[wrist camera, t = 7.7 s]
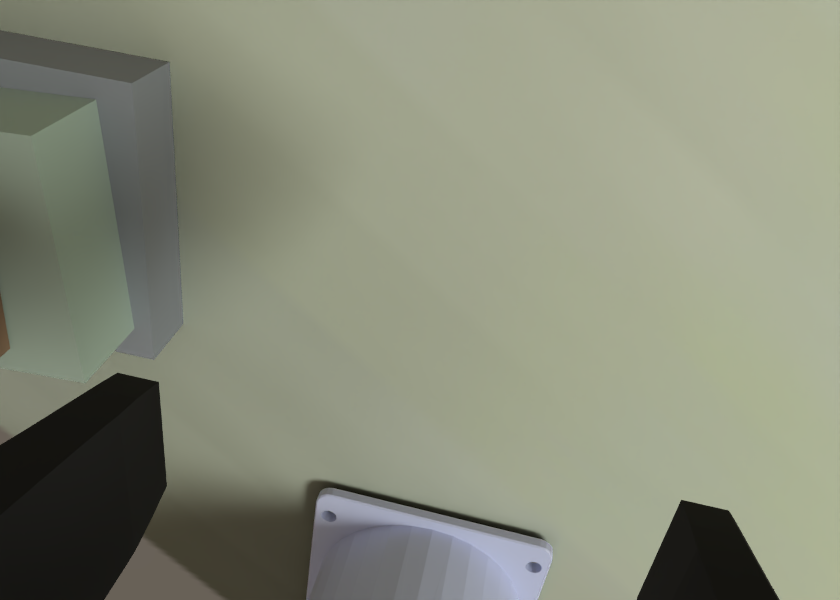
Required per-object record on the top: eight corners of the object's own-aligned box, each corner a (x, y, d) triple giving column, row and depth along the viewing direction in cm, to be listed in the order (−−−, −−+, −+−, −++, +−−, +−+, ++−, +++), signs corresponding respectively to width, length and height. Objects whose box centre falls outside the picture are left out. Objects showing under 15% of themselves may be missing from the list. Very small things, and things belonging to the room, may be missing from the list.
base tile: (191, 312, 24) (153, 359, 22) (-45, 261, 25) (-104, 302, 23) (180, 55, 20) (131, 83, 18) (-107, 2, 20) (-186, 23, 18)
